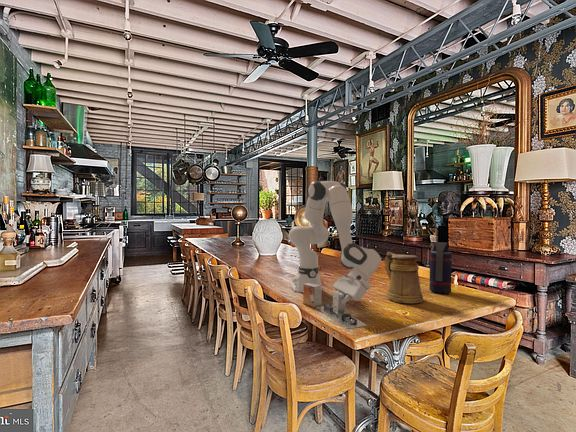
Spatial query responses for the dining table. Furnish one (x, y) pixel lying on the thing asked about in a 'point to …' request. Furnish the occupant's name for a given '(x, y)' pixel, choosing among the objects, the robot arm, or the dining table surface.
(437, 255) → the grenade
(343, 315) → the grey long flat board
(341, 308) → the mini drawer chest
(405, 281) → the tankard
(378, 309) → the dining table surface
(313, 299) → the small box
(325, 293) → the dining table surface
